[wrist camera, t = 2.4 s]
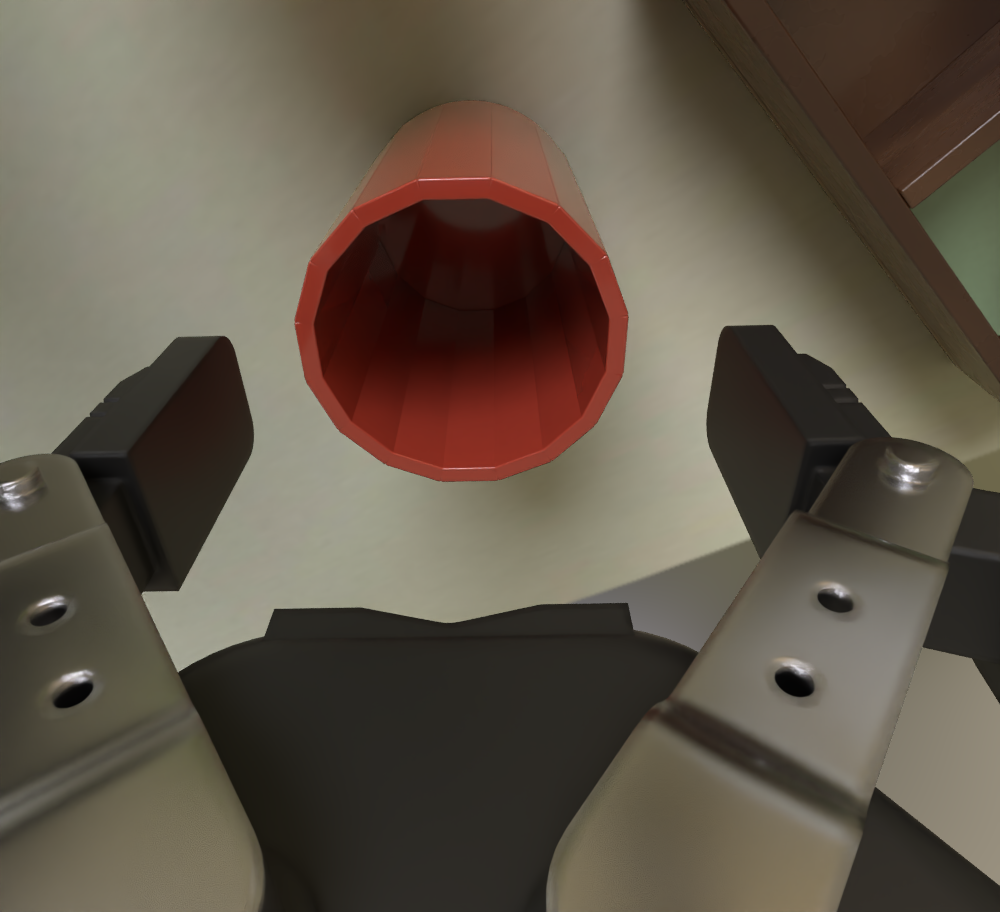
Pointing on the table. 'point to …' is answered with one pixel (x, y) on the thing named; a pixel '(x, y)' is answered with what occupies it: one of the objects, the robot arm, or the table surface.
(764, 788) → the robot arm
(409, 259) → the cup
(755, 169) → the table surface
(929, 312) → the caddy
